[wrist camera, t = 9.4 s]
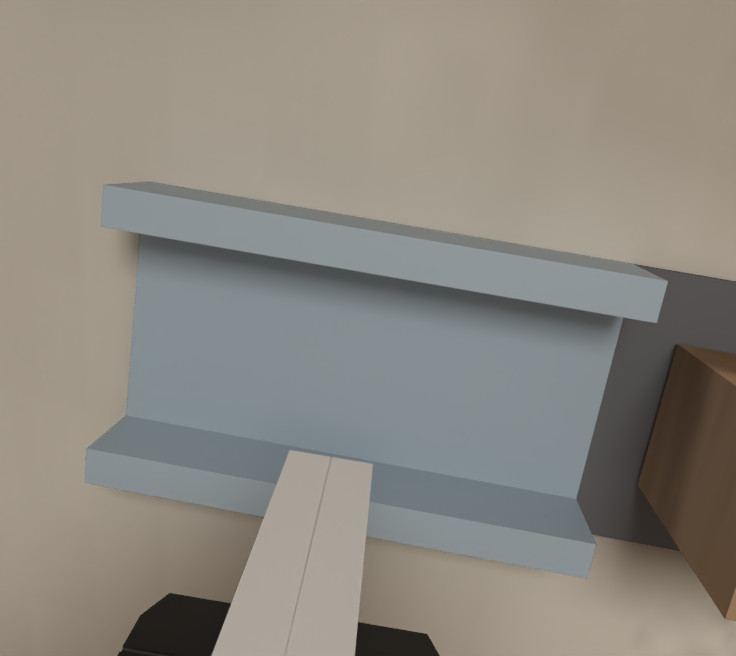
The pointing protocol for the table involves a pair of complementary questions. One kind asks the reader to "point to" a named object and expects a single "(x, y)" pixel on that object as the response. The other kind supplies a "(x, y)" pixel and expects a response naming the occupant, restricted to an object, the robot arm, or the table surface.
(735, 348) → the mat
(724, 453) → the block
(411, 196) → the table surface
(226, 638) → the robot arm
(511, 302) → the blue steel i-beam
